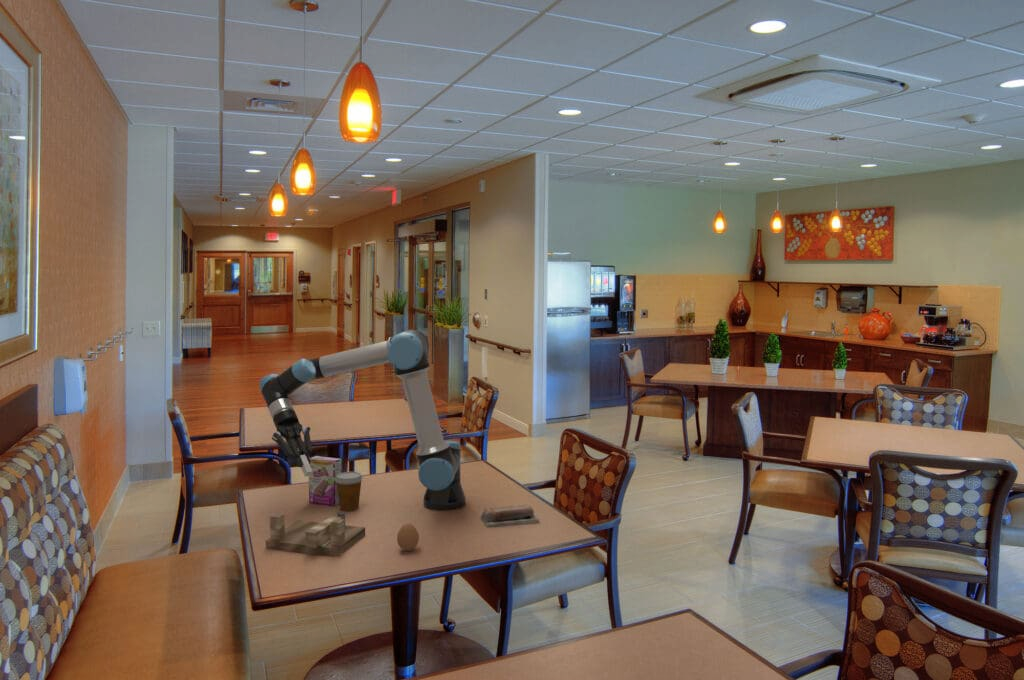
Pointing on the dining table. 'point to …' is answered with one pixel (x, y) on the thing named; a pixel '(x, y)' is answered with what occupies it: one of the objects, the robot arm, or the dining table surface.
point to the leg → (319, 533)
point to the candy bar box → (324, 480)
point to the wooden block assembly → (296, 538)
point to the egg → (407, 537)
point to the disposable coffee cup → (349, 489)
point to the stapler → (508, 516)
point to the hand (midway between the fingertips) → (308, 473)
